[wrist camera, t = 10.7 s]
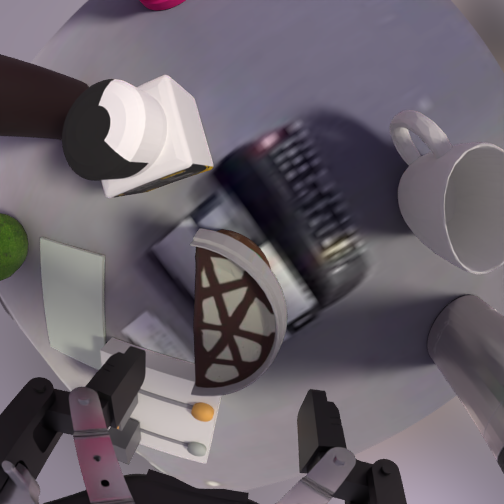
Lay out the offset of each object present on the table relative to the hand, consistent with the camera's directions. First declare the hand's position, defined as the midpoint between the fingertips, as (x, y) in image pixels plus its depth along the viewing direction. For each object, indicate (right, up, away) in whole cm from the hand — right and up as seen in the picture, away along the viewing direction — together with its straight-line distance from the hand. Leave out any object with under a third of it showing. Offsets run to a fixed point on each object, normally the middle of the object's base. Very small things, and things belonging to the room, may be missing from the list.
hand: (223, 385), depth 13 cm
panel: (-10, -13, +20) cm, 25 cm away
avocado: (-28, +8, +16) cm, 34 cm away
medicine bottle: (-6, +16, +12) cm, 21 cm away
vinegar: (-18, +22, +11) cm, 31 cm away
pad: (-21, -1, +17) cm, 27 cm away
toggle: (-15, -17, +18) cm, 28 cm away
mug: (+17, +13, +11) cm, 24 cm away
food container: (+1, +4, +15) cm, 15 cm away
